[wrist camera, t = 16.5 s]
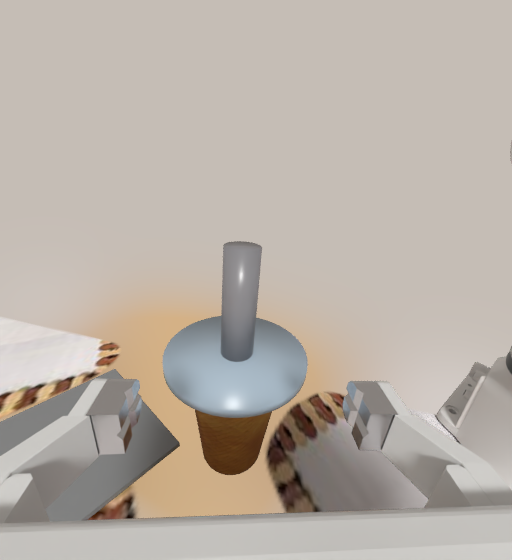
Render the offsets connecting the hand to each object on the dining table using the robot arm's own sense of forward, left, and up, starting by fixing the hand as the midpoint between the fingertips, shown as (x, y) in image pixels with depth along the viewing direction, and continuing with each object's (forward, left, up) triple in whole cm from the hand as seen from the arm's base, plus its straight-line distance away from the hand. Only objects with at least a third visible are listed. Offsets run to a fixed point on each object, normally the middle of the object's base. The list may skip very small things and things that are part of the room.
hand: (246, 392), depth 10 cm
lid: (-9, -9, -8) cm, 15 cm away
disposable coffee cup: (-9, -9, -21) cm, 24 cm away
